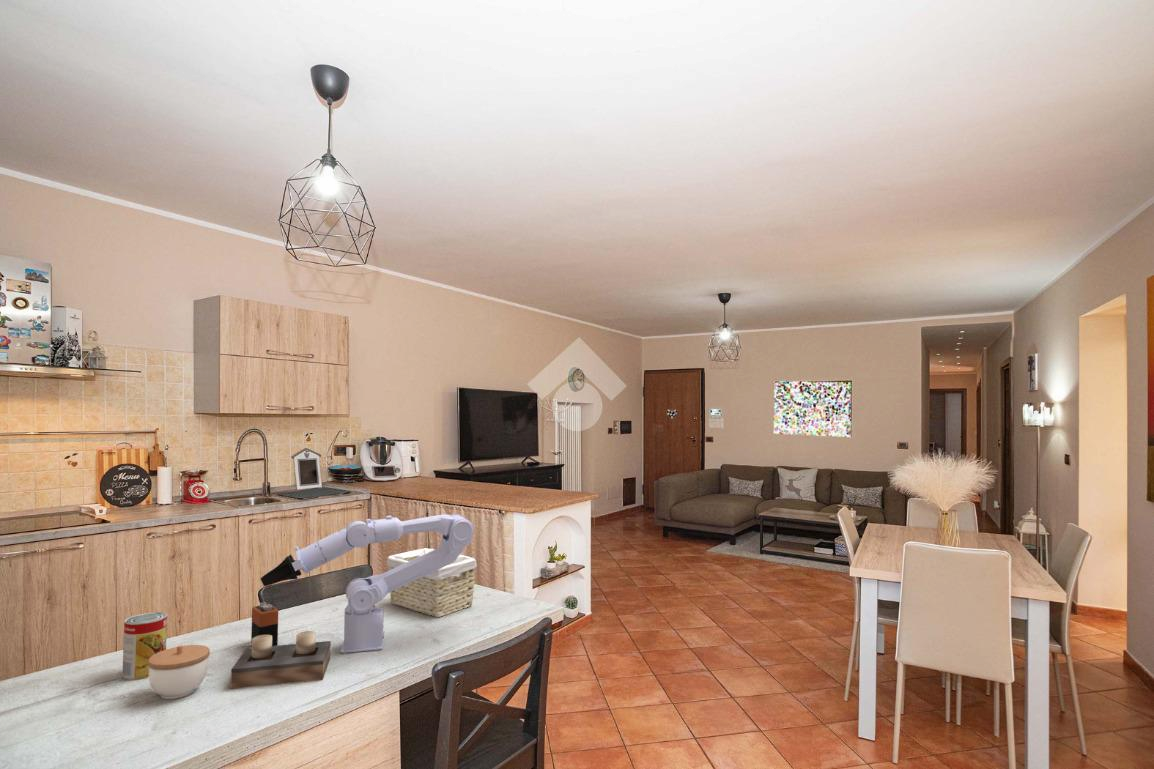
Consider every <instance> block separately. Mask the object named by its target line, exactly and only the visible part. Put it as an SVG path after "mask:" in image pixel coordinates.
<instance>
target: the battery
mask: <svg viewBox="0 0 1154 769" xmlns="http://www.w3.org/2000/svg"><path fill="white" fill-rule="evenodd" d="M250 632H251V633H250V634H251V636H250V637H251V638H250V639H251V640H250V641H251V644H252V638H254V637H256V636H259V635H272V646H278V642H279V640H278V639H279V609H277V608H276V607H274V605H272V604H270V603H267V602H260V603H259V605H257V606H252V608H251V631H250Z"/></svg>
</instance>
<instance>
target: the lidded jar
mask: <svg viewBox="0 0 1154 769" xmlns="http://www.w3.org/2000/svg"><path fill="white" fill-rule="evenodd" d="M210 651H211V650H210V648H209V647H208V646H207V645H202V644H188V645H187V644H186V645H182V644H180V645H177V646H173V647H171V648H166V650H163V651H160V652H158V653H156V654H154V655H153V656H151V657H150V658H149V660H148V666H149V678H148V680H149V685H150V687H151V688H152V690H153V691H154V692H155V694H157V695H159V696H160V698H161V697H162V699H164V700H174V699H179V698H183V697H186V696H189V695H191V694H193V693H194V692H195V691H196V689H197V688H198V687H199V686H200V684H201V683H202V682H203V680H204V679H205V678H206V675H207V671H208V667H209V662H210V657H209V656H210V654H211V653H210Z"/></svg>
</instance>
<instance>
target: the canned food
mask: <svg viewBox="0 0 1154 769" xmlns="http://www.w3.org/2000/svg"><path fill="white" fill-rule="evenodd" d="M123 622H124V623H123V647H122V648H123V649H122V671H121V672H122V674H121V678H122V679H124V680H128V681H134V680H135V681H136V679H138V680H143V678H144V679H147V678H148V677H149V666H148V660H149V658H150V657H151V656H153V655H154V654H156V653H158V652H160V651H163V650H166V649H167V637H168V636H167V635H168V634H167V633H168V632H167V631H168V630H167V628H168V613H167V612H162V611H154V612H153V611H152V612H146V613H145V612H143V613H140V614H136V615H133V616H128V618H126V619H125V620H124V621H123ZM148 679H149V678H148Z"/></svg>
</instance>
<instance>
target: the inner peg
mask: <svg viewBox="0 0 1154 769" xmlns="http://www.w3.org/2000/svg"><path fill="white" fill-rule="evenodd" d="M316 633H317V632H316V631H315V630H313V631H312V630H306V631H300V632H299V633H297V634H296V635H295V637H296V638H295V640H296V641H295V644H296V653H298V654H307V653H311V652H313V651H315V644H316V642H317V640H316V636H317V634H316Z"/></svg>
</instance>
